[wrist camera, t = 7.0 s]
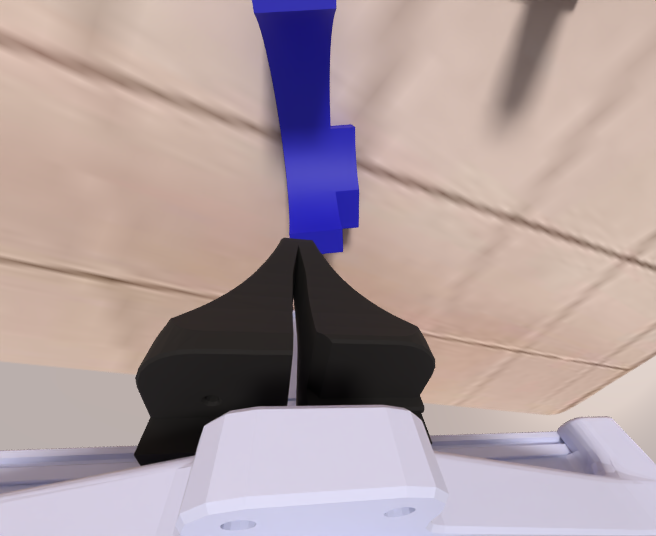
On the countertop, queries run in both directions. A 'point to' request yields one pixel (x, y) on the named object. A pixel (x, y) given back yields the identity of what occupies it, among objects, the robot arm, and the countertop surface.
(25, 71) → the countertop surface
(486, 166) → the countertop surface
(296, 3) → the cable clip
